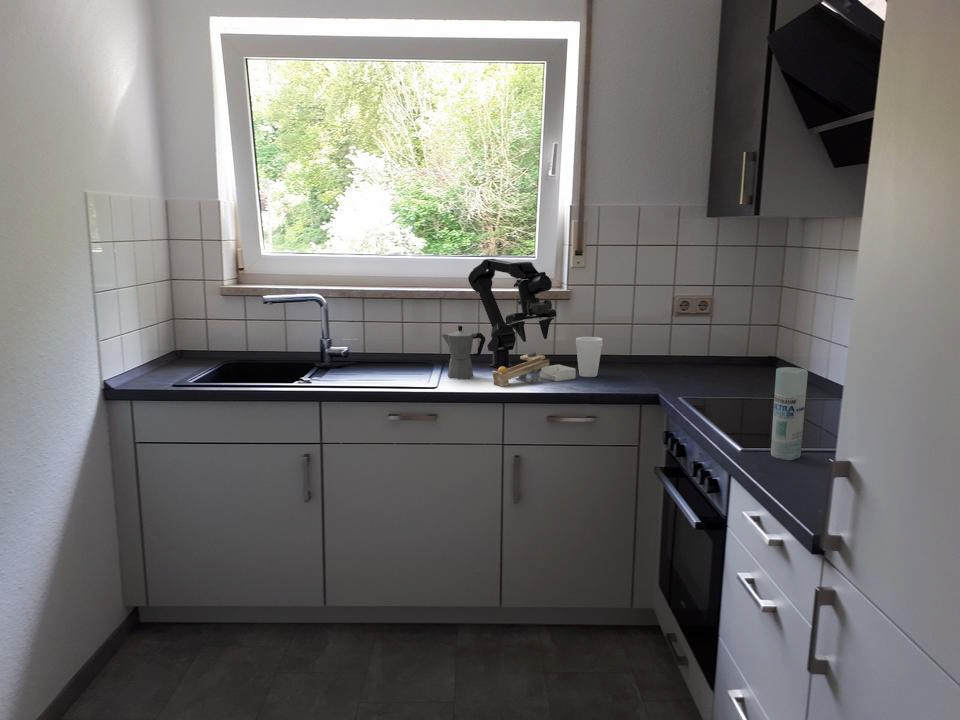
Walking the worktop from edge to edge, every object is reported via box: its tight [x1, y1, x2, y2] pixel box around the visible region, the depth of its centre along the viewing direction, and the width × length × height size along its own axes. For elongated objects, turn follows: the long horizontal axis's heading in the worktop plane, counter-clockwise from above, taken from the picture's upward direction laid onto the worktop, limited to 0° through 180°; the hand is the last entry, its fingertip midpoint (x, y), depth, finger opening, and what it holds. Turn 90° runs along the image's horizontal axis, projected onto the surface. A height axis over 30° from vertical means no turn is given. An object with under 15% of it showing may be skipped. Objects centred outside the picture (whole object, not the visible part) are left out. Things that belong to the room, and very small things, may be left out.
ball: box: [497, 366, 508, 375], centre depth 240 cm, size 3×3×3 cm
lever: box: [492, 351, 551, 387], centre depth 248 cm, size 17×24×4 cm
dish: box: [539, 364, 577, 382], centre depth 252 cm, size 9×9×4 cm
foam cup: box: [575, 336, 604, 378], centre depth 255 cm, size 10×9×13 cm
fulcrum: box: [515, 372, 543, 385], centre depth 246 cm, size 9×4×3 cm, turn 33°
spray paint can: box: [770, 366, 809, 461], centre depth 163 cm, size 6×6×20 cm
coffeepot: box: [441, 325, 486, 380], centre depth 252 cm, size 15×9×18 cm, turn 82°
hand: (535, 340), depth 256 cm, fingers open, 9 cm apart
